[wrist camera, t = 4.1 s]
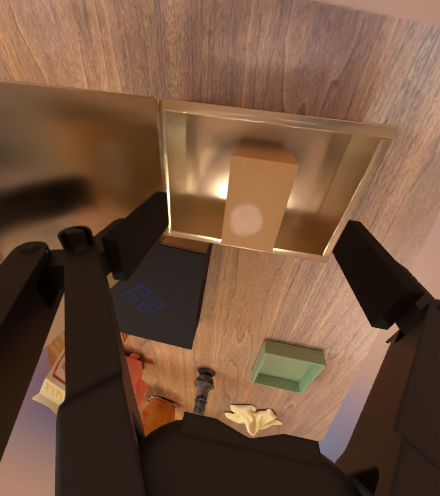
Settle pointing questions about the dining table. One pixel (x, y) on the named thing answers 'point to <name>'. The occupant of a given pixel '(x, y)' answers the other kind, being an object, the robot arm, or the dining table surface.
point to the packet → (257, 194)
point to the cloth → (252, 417)
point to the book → (165, 293)
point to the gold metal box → (273, 131)
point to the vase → (157, 414)
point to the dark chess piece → (203, 389)
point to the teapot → (137, 377)
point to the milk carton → (57, 382)
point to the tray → (287, 366)
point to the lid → (72, 163)
